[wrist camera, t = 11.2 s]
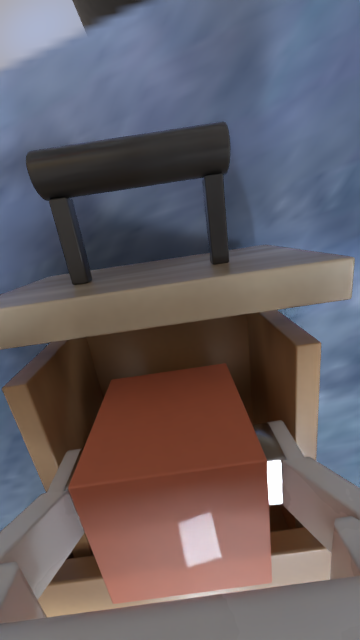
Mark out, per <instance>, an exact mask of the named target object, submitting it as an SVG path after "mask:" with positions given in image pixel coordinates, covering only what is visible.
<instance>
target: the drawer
mask: <svg viewBox="0 0 360 640" xmlns="http://www.w3.org/2000/svg"><path fill="white" fill-rule="evenodd" d="M229 164H230V136H229V130H228V127H227V124H226V122H216V123H210V124H203V125H197V126H190V127H184V128H177V129H171V130H164V131H158V132H151V133H145V134H138V135H132V136H125V137H119V138H112V139H105V140H99V141H92V142H86V143H79V144H73V145H66V146H60V147H53V148H47V149H40V150H34V151H29V152H28V153H27V155H26V165H27V170H28V173H29V176H30V179H31V182H32V184H33V186H34V188H35V189H36V191H37V193H38V194H39V195H40V196H41V198H43V199H44V200H46V201H49V203H50V207H51V210H52V214H53V217H54V221H55V224H56V228H57V232H58V235H59V239H60V242H61V246H62V249H63V253H64V257H65V260H66V264H67V267H68V271H69V274H62V275H56V276H49V277H47V278H44V279H41V280H38V281H36V282H33V283H30V284H28V285H25V286H22V287H20V288H17V289H14V290H12V291H9V292H6V293H4V294H1V295H0V350H1V349H8V348H15V347H22V346H29V345H36V344H43V343H49V342H51V343H50V344H49V345H48V346H46V347H45V348H44V349H43V350H42V351H41V352H40V353H39V354H38V355H37V356H36V357H35V358H34V359H33V360H31V361H30V362H29V363H28V364H27V365H26V366H25V367H24V368H23V369H22V370H21V371H20V372H19V373H17V374H16V375H15V376H14V377H13V378H12V379H11V380H10V381H9V382H8V383H7V384H6V385H5V386H4V387H2V391H3V393H4V395H5V398H6V400H7V402H8V405H9V407H10V409H11V412H12V414H13V416H14V419H15V421H16V423H17V426H18V428H19V430H20V433H21V435H22V437H23V439H24V442H25V444H26V446H27V449H28V451H29V453H30V456H31V458H32V460H33V463H34V465H35V467H36V470H37V472H38V474H39V477H40V479H41V481H42V484H43V486H44V488H45V491H46V493H47V491H48V489H49V487H50V485H51V483H52V480H53V478H54V476H55V474H56V472H57V470H58V468H59V466H60V464H61V462H62V460H63V457H64V455H65V453H66V452H67V451H68V450H72V449H82V448H84V446H85V444H86V442H87V439H88V437H89V434H90V432H91V429H92V427H93V424H94V422H95V419H96V417H97V414H98V412H99V409H100V407H101V404H102V402H103V399H104V397H105V394H106V392H107V389H108V387H109V384H110V382H111V380H113V379H120V378H127V377H133V376H140V375H147V374H154V373H161V372H168V371H175V370H182V369H189V368H196V367H203V366H210V365H217V364H224V363H226V364H227V367H228V369H229V372H230V374H231V376H232V379H233V381H234V383H235V386H236V388H237V390H238V393H239V395H240V397H241V400H242V402H243V404H244V407H245V409H246V412H247V414H248V416H249V419H250V421H251V423H252V425H253V424H259V423H267V422H271V421H278V420H281V421H283V422H284V424H285V425H286V427H287V429H288V430H289V432H290V434H291V435H292V437H293V439H294V440H295V442H296V444H297V445H298V447H299V449H300V450H301V452H302V454H303V455H304V457H311V458H312V459H314V460H315V461H316V451H317V428H318V405H319V383H320V360H321V342H319V341H318V340H317V339H315V338H314V337H313V336H311V335H310V334H309V333H307V332H306V331H305V330H303V329H302V328H301V327H299V326H298V325H296V324H295V323H294V322H292V321H291V320H290V319H288V318H287V317H286V316H284V315H283V314H282V313H280V312H279V311H277V310H278V309H285V308H292V307H299V306H306V305H313V304H320V303H327V302H334V301H341V300H348V299H351V297H352V286H353V274H354V261H355V259H354V257H350V256H343V255H336V254H329V253H322V252H314V251H307V250H300V249H293V248H286V247H279V246H272V245H259V246H253V247H246V248H239V249H232V250H229V249H228V236H227V222H226V209H225V196H224V183H223V175H224V174H226V173H227V172H228V169H229ZM198 178H203V180H202V183H203V193H204V203H205V213H206V223H207V233H208V243H209V253H205V254H198V255H191V256H185V257H178V258H171V259H164V260H157V261H151V262H144V263H137V264H130V265H124V266H117V267H110V268H103V269H96V270H90V267H89V263H88V259H87V255H86V251H85V247H84V243H83V240H82V236H81V232H80V228H79V224H78V220H77V216H76V212H75V208H74V204H73V200H72V199H70V198H72V197H78V196H85V195H92V194H98V193H105V192H112V191H118V190H125V189H132V188H138V187H145V186H151V185H158V184H165V183H171V182H178V181H185V180H191V179H198ZM269 516H270V532H272V531H279V530H287V529H294V528H302V527H304V526H303V525H302V524H301V523H300V522H299V521H298V520H297V519H296V518H295V517H294V516H293V515H292V514H291V513H290V512H289V511H288V510H287V509H286V508H285V507H284V506H283V504H279V505H269ZM72 554H73V556H74V558H78V557H86V556H93V555H94V554H93V552H92V549H91V546H90V544H89V541H88V539H87V536H86V534H85V531H84V534H83V536H82V537H81V539H80V540H79V542H78V543H77V545H76V546H75V547H74V549H73V550H72Z"/></svg>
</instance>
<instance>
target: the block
mask: <svg viewBox="0 0 360 640" xmlns="http://www.w3.org/2000/svg"><path fill="white" fill-rule="evenodd" d="M68 490H69V492H70V495H71V498H72V500H73V503H74V505H75V508H76V510H77V513H78V516H79V518H80V521H81V523H82V526H83V528H84V531H85V534H86V536H87V539H88V541H89V544H90V546H91V549H92V552H93V554H94V557H95V559H96V562H97V564H98V567H99V570H100V572H101V575H102V577H103V580H104V582H105V585H106V588H107V590H108V593H109V595H110V598H111V600H112V603H113V604H119V603H126V602H134V601H141V600H149V599H156V598H163V597H171V596H178V595H186V594H193V593H201V592H208V591H216V590H223V589H231V588H238V587H246V586H253V585H261V584H268V583H272V564H271V540H270V516H269V492H268V468H267V459H266V456H265V454H264V452H263V449H262V447H261V444H260V442H259V440H258V437H257V435H256V433H255V430H254V428H253V426H252V423H251V421H250V419H249V416H248V414H247V412H246V409H245V407H244V404H243V402H242V400H241V397H240V395H239V393H238V390H237V388H236V386H235V383H234V381H233V379H232V376H231V374H230V372H229V369H228V367H227V364H226V363H224V364H217V365H210V366H203V367H196V368H189V369H182V370H175V371H168V372H161V373H154V374H147V375H140V376H133V377H127V378H120V379H113V380H111V382H110V384H109V387H108V389H107V392H106V394H105V397H104V399H103V402H102V404H101V407H100V409H99V412H98V414H97V417H96V419H95V422H94V424H93V427H92V429H91V432H90V434H89V437H88V439H87V442H86V444H85V446H84V449H83V451H82V454H81V456H80V459H79V461H78V464H77V466H76V469H75V471H74V474H73V476H72V479H71V481H70V484H69V486H68Z"/></svg>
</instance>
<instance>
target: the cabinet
mask: <svg viewBox="0 0 360 640" xmlns="http://www.w3.org/2000/svg"><path fill="white" fill-rule="evenodd" d="M270 540H271V564H272V583H268V584H261V585H253V586H246V587H238V588H231V589H223V590H216V591H208V592H201V593H193V594H186V595H178V596H171V597H163V598H156V599H149V600H141V601H134V602H126V603H119V604H113V603H112V600H111V598H110V595H109V593H108V590H107V588H106V585H105V582H104V580H103V577H102V575H101V572H100V570H99V567H98V564H97V562H96V559H95V557H94V555H93V556H86V557H78V558H74V556H73V554H72V552H71V553H70V555H69V556H68V557H67V559H66V560H65V562H64V563H63V565H62V566H61V567H60V569H59V570H58V572H57V573H56V575H55V576H54V577H53V579H52V580H51V582H50V583H49V585H48V586H47V587H46V589H45V590H44V592H43V593H42V595H41V596H40V597H39V599H38V602H39V603H40V605H41V607H42V609H43V611H44V612H45V614H46V617H54V616H61V615H69V614H76V613H84V612H91V611H99V610H106V609H114V608H121V607H129V606H136V605H143V604H151V603H158V602H166V601H173V600H181V599H188V598H196V597H203V596H211V595H218V594H226V593H233V592H241V591H248V590H256V589H263V588H271V587H278V586H286V585H293V584H301V583H308V582H316V581H323V580H330V568H331V556H332V554H331V553H330V552H329V551H328V550H327V549H326V548H325V547H324V546H323V545H322V544H321V543H320V542H319V541H318V540H317V539H316V538H315V537H314V536H313V535H312V534H311V533H310V532H309V531H308V530H307V529H306V528H305V527H302V528H294V529H287V530H279V531H272V532H270Z"/></svg>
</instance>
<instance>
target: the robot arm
mask: <svg viewBox="0 0 360 640" xmlns="http://www.w3.org/2000/svg"><path fill="white" fill-rule="evenodd" d="M252 426H253V428H254V430H255V433H256V435H257V437H258V440H259V442H260V444H261V447H262V449H263V452H264V454H265V456H266V459H267V468H268V492H269V505H279V504H283V506H284V507H285V508H286V509H287V510H288V511H289V512H290V513H291V514H292V515H293V516H294V517H295V518H296V519H297V520H298V521H299V522H300V523H301V524H302V525H303V526H304V527H305V528H306V529H307V530H308V531H309V532H310V533H311V534H312V535H313V536H314V537H315V538H316V539H317V540H318V541H319V542H320V543H321V544H322V545H323V546H324V547H325V548H326V549H327V550H328V551H329V552H330V553H331V554H332V556H331V568H330V580H323V581H316V582H308V583H301V584H293V585H286V586H278V587H271V588H263V589H256V590H248V591H241V592H233V593H226V594H218V595H211V596H203V597H196V598H188V599H181V600H173V601H166V602H158V603H151V604H143V605H136V606H129V607H121V608H114V609H106V610H99V611H91V612H84V613H76V614H69V615H61V616H54V617H46V614H45V612H44V611H43V609H42V607H41V605H40V603H39V602H38V599H39V597H40V596H41V595H42V593H43V592H44V590H45V589H46V587H47V586H48V585H49V583H50V582H51V580H52V579H53V577H54V576H55V575H56V573H57V572H58V570H59V569H60V567H61V566H62V565H63V563H64V562H65V560H66V559H67V557H68V556H69V555H70V553H71V552H72V550H73V549H74V547H75V546H76V545H77V543H78V542H79V540H80V539H81V537H82V536H83V534H84V528H83V526H82V523H81V521H80V518H79V516H78V513H77V510H76V508H75V505H74V503H73V500H72V498H71V495H70V492H69V490H68V486H69V484H70V481H71V479H72V476H73V474H74V471H75V469H76V466H77V464H78V461H79V459H80V456H81V454H82V451H83V449H84V448H82V449H72V450H68V451H67V452H66V453H65V455H64V457H63V460H62V462H61V464H60V466H59V468H58V470H57V472H56V474H55V476H54V478H53V480H52V483H51V485H50V487H49V489H48V491H47V493H44V494H41V495H40V496H39V497H38V498H37V499H36V500H35V501H34V502H32V503H31V504H30V505H29V506H28V507H27V508H26V509H25V510H24V511H23V512H22V513H20V514H19V515H18V516H17V517H16V518H15V519H14V520H13V521H12V522H11V523H10V524H8V525H7V526H6V527H5V528H4V529H3V530H2V531H1V532H0V640H360V488H359V487H357V486H355V485H354V484H352V483H351V482H349V481H347V480H346V479H344V478H343V477H341V476H339V475H338V474H336V473H335V472H333V471H331V470H330V469H328V468H327V467H325V466H323V465H322V464H320V463H319V462H317V461H315V460H314V459H312V458H311V457H304V455H303V454H302V452H301V450H300V449H299V447H298V445H297V444H296V442H295V440H294V439H293V437H292V435H291V434H290V432H289V430H288V429H287V427H286V425H285V424H284V422H283V421H281V420H278V421H271V422H267V423H259V424H253V425H252Z"/></svg>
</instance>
